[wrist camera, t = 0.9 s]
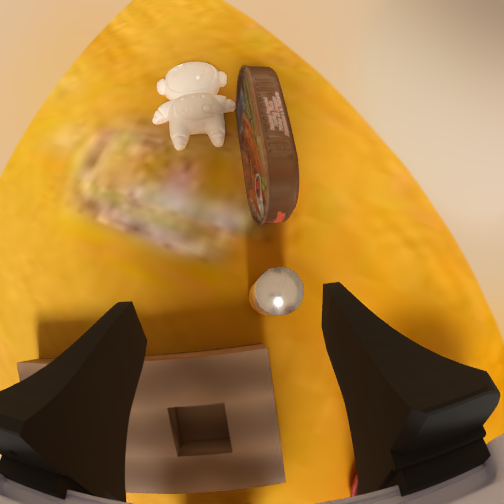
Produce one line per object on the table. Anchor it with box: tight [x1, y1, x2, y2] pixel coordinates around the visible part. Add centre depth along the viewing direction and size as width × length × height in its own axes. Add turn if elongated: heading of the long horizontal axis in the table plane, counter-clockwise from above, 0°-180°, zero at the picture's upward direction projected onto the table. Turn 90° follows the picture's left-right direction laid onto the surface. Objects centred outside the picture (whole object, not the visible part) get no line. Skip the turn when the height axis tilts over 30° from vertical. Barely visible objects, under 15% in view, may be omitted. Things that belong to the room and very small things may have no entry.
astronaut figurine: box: [152, 62, 236, 150], centre depth 30 cm, size 9×12×3 cm
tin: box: [236, 65, 299, 225], centre depth 26 cm, size 15×3×8 cm, turn 8°
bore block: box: [17, 344, 286, 494], centre depth 23 cm, size 12×22×4 cm, turn 98°
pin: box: [249, 267, 304, 315], centre depth 24 cm, size 3×3×7 cm
